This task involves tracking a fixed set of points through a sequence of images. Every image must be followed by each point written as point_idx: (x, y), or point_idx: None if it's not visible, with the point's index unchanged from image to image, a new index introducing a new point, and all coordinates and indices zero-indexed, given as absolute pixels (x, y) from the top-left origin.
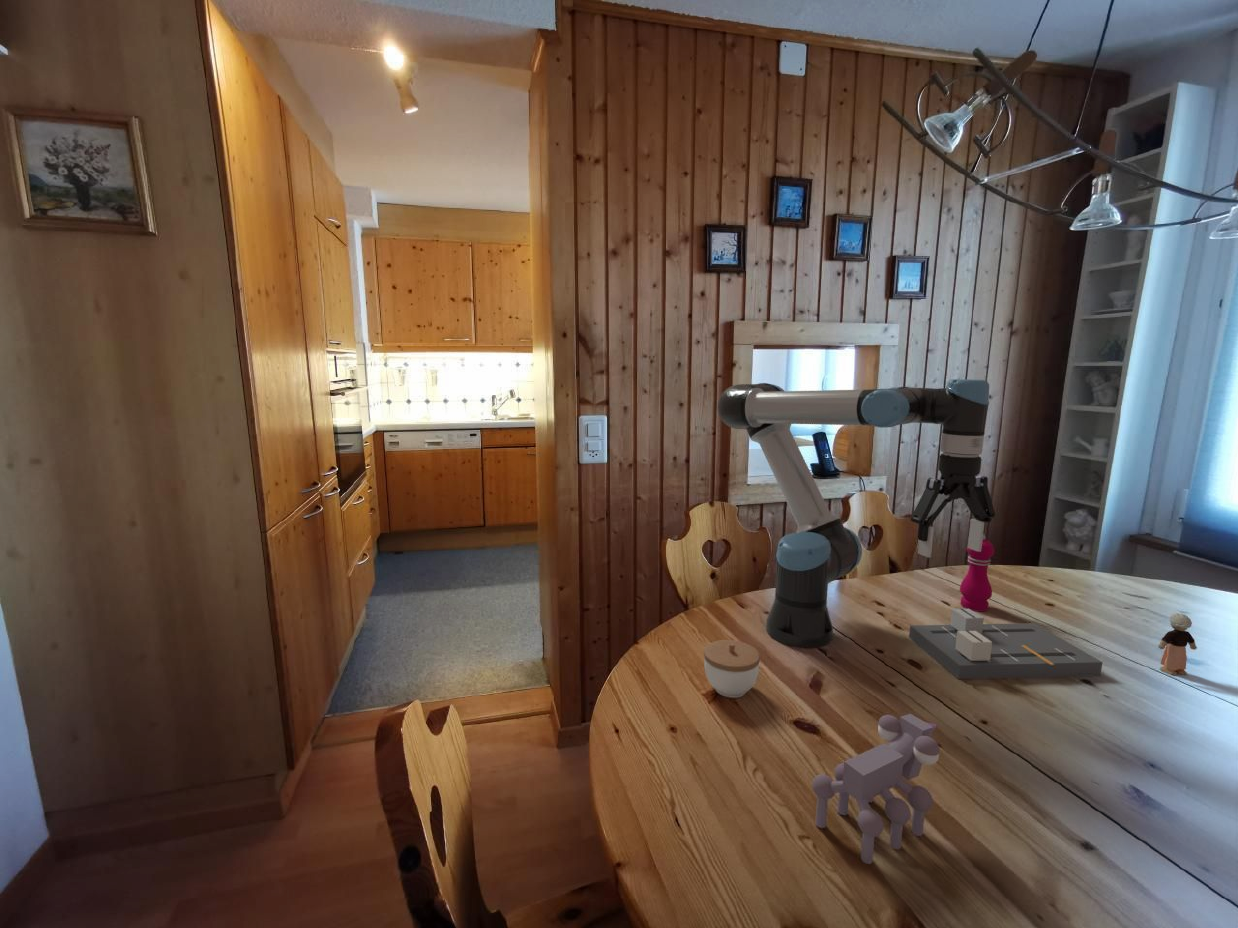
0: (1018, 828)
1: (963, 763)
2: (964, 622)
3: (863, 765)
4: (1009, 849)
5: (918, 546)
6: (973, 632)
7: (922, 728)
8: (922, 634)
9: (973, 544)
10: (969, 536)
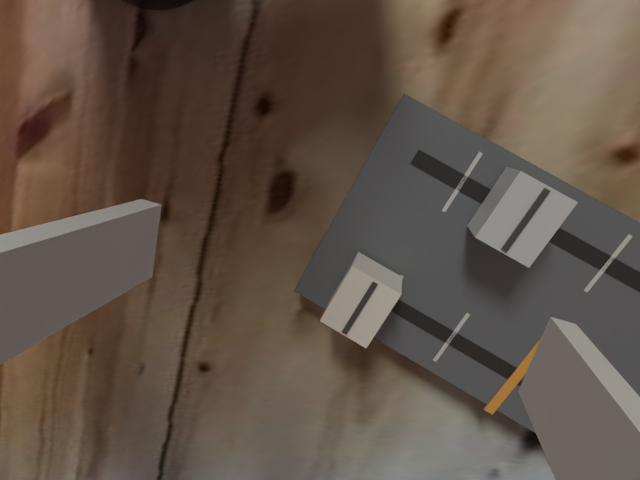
0: (48, 462)
1: (87, 387)
2: (475, 228)
3: None
4: (16, 464)
5: (111, 207)
6: (383, 296)
7: None
8: (375, 151)
9: (543, 377)
10: (581, 368)
